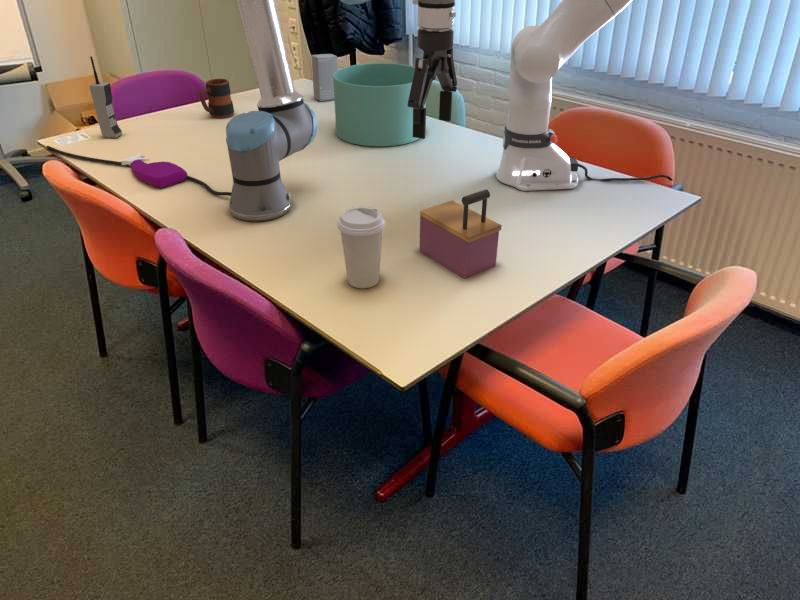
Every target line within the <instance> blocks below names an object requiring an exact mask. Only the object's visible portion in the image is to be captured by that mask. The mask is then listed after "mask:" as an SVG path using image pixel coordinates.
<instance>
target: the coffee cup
mask: <svg viewBox="0 0 800 600" xmlns="http://www.w3.org/2000/svg"><path fill="white" fill-rule="evenodd" d="M336 227H337V229H338V230H339V231H340V237H341V244H342V251H343V256H344V263H345V264H344V265H345V271H346V277H347V283H348V284H349V286H351V287H353V288H357V289H369V288H372V287H374V286H376V285H378V283H379V281H380V269H381V257H382V247H383V246H382V245H383V231H384V229H385V228H386V220H385V218H384V217H383V216H382V213H381V212H380V211H379V210H378V209H377V208H374V207H369V206H355V207H350V208H347V209H345V210H344V211H342V212H341V214H340V217H339V218H338V221H337V225H336Z"/></svg>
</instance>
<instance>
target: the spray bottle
mask: <svg viewBox="0 0 800 600" xmlns="http://www.w3.org/2000/svg"><path fill="white" fill-rule="evenodd" d="M145 161H149V163H147V162H145ZM120 162H121V163H122V165H127V164H128V165H130V169H131V172H132V173H133V175H134V176H135V177H136V178H137V179H139V180H141V181H142V182H143V183H145V184H148V185H150V186H153V187H156V188H160V189H163V188H166V187H169V186H173V185H176V184H178V183H182V182H184V181H186V180H187V179H186V178H187V176H188V172H187V171H186V170H185V169H184V168H183V167H181V166H180V165H177V164H175V163H174V162H170V161H154V162H150V158H146V157H145V154H144V153H142V154H136V155H133V156H129V157H127V158H124V159H121V160H120ZM122 165H121V166H122Z"/></svg>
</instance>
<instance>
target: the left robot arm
mask: <svg viewBox="0 0 800 600" xmlns="http://www.w3.org/2000/svg"><path fill="white" fill-rule="evenodd" d="M236 1H237V5H238V9H239V13H240V18H241V21H242V26H243V30H244V33H245V38H246V42H247V44H248V49H249V54H250V57H251V61H252V65H253V70H254V73H255V77H256V82H257V86H258V90H259V93H260V99H259V100H258V102H257V104H256V106H257V110H251V111H248V112H242V113H238V114H237V115H235V116H234V117H232V118H231V119H229V121H228V122H227V123H226V126H225V135H226V137H225V142H226V145H227V151H228V157H229V165H230V169H231V170H230V171H231V176H232V187H231V191H216V190H214V189H212V188H211V186H209V185H208V183H206V182H205V181H202V180H200V179H198V178H195V177H192V176H189V175H187V178H186V180H189V181H190V182H191V181H192V182H194V183H197V184H199V185H201V186H202V187H204V189H206V190H207V191H208V192H209V193H211V194H213V195H215V196H229V197H230V200H229V212H230V215H231V216H232V217H233V218H235V219H238V220H241V221H245V222H252V223H253V222H267V221H273V220H276V219H278V218H281V217H283V216H285V215H286V214H288V213H289V212H290V211H291V208H292V203H291V194H288V192H287V190H286V187H285V184H284V183H283V180H282V177H281V169H280V162H281V161H282V160H285V159H286V158H288V157H290V156H292V155H294V154H296V153H298V152H300V151H303V150H304V149H306V147H308V146H309V145H310V144H312V143H313V141H314V140H315V139H316V136H317V133H318V119H317V116H316V113H315V111H314V110H313V108H311V106H310V105H309V104H308V103H306V102H304V101H305V100H304V97H303V95H302V94H301V93H299V92H298V91H297V90H296V88H295V84H294V80H293V76H292V72H291V67H290V66H291V65H290V63H289V62H290V61H289V58H288V53H287V48H286V44H285V39H284V36H283V31H282V27H281V22H280V17H279V13H278V8H277V5H276V0H236ZM339 1H340V2H341V3H342V4H345V5H362V4H365V3H367V2H370V1H371V0H339ZM455 7H456V0H418V5H417V26H418V27H419V28H418V30H417V36H416V37H417V39H416V40H417V41H416V42H417V44H416V45H417V48H418V49H419V50H421V51H423V55H422V57H416V58H415V61H414V62H415V63H414V67H415V71H414V76H413V81H412V86H411V90H410V95H409V100H408V107H410V108H413V137H415V138H419V139H422V140H425V139H426V126H427V125H426V124H427V107H425V108H424V105H425V106H426V102H427V99H428V96H429V93H430V90H431V86H432V84H433V81H435V80H436V79H438V82H439V83H438V84H439V85H440V87H441V90H440V91H439V106H438V107H439V109H438V121H445V122H451V121H452V104H453V93H456V92H457V90H458V87H457V85H458V79H457V75H456V74H457V73H456V67H455V62H454V48H453V46H454V36H455V35H454V33H455V31H454V30H453V27H454V26H455V18H456V17H457V12H455V10H456V9H455ZM45 148H46V149H47V150H50V151H52V152H54V153H57V154H60V155H63V156H66V157H70V158H75V159H78V160H79V159H80V160H82V161H83V160H84V161H90V162H95V163H102V164H108V165H109V164H110V165H116V166H122V167H123V166H124V167H130V165H128V164H127V165H122V163H121V161H117V160H109V159H103V158H102V159H101V158H95V157H90V156H84V155H79V154H75V153H70V152H66V151H63V150H60V149H58V148H55V147H53V146H51V145H46V147H45ZM130 168H131V167H130Z"/></svg>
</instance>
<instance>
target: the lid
mask: <svg viewBox="0 0 800 600" xmlns="http://www.w3.org/2000/svg"><path fill="white" fill-rule="evenodd" d="M490 197H491V192H490V190H489V189H486V188H485V189H482V190H480V191H477V192H473V193H471V194H467V195H464V196H462V197H461V203H462V204H460V203H459V202H456V201H455V200H449V201H446V202H443V203H440V204H437V205H434V206H431V207H428V208H425V209H421V210H420V211H419V216H422V217H423V218H425V219H427V220H429V221H431V222H432V223H434V224H436V225H438V226H440V227H441V228H443V229H445V230H447V231H449V232H450V233H452V234H454V235H456V236H458V237H459V238H461V239H463V240H465V241H466V242H468V243H469V242H471V241H474V240H477V239H479V238H482V237H484V236H487V235H490V234H492V233H495V232H497V231H499V232H500V231H502V227H503V226H502V224H500V223H498V222H496V221H495V220H493V219H490V218H488V217H487V208H488V199H490ZM478 202H481V213H478V212H476V211H474V210H472V209H471V208H469V206H470V205H473V204H477V203H478Z"/></svg>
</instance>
